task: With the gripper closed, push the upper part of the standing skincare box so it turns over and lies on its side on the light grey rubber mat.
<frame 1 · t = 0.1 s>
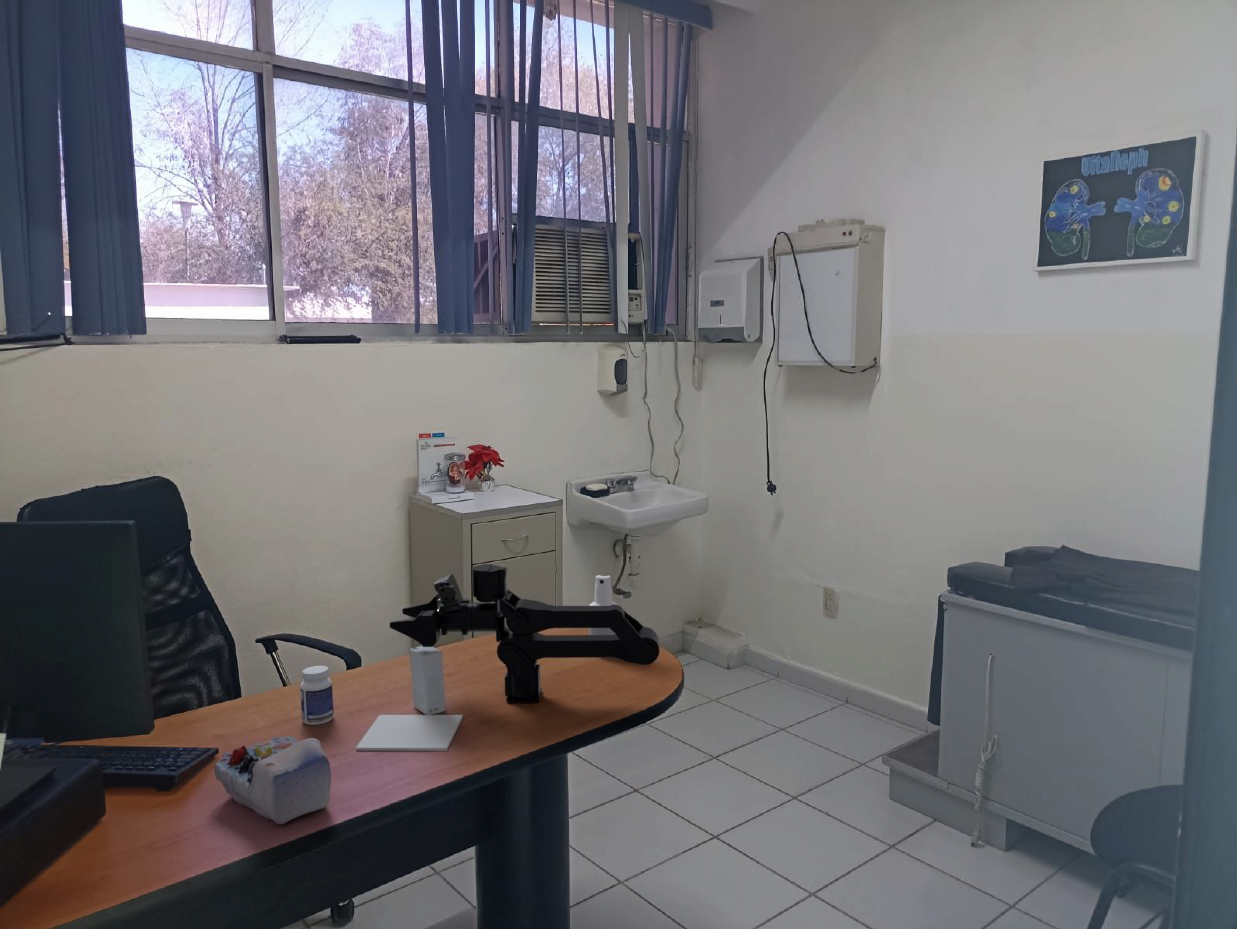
hand: (396, 617, 174), 17 cm above the table, fingers open, 9 cm apart
spray bottle: (603, 652, 202), on the table
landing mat: (411, 733, 159), on the table
skincare box: (428, 710, 170), on the table
cell model: (279, 801, 136), on the table
pill bottle: (318, 720, 165), on the table
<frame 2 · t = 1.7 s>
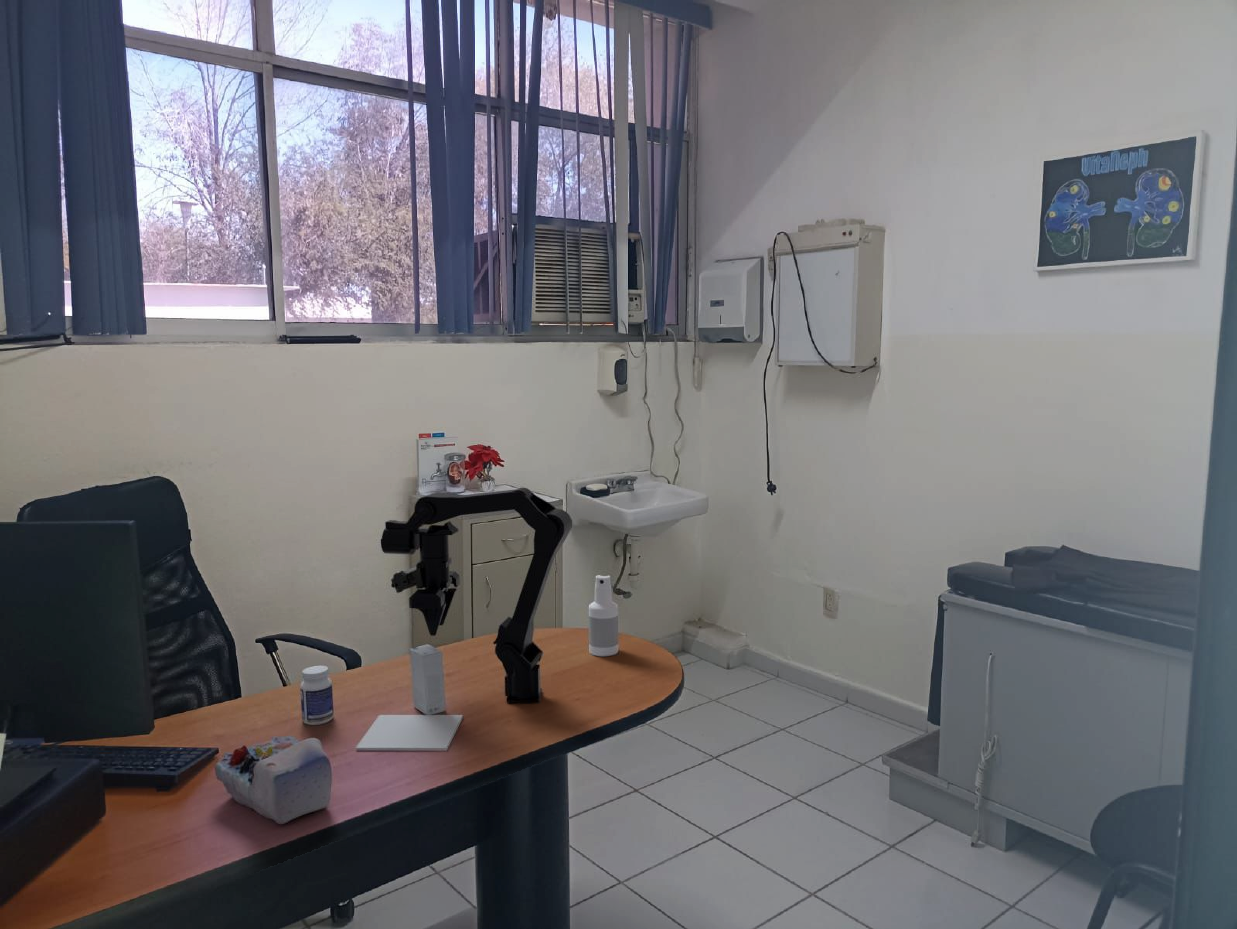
hand: (436, 630, 177), 13 cm above the table, fingers open, 6 cm apart
nothing on the table moved.
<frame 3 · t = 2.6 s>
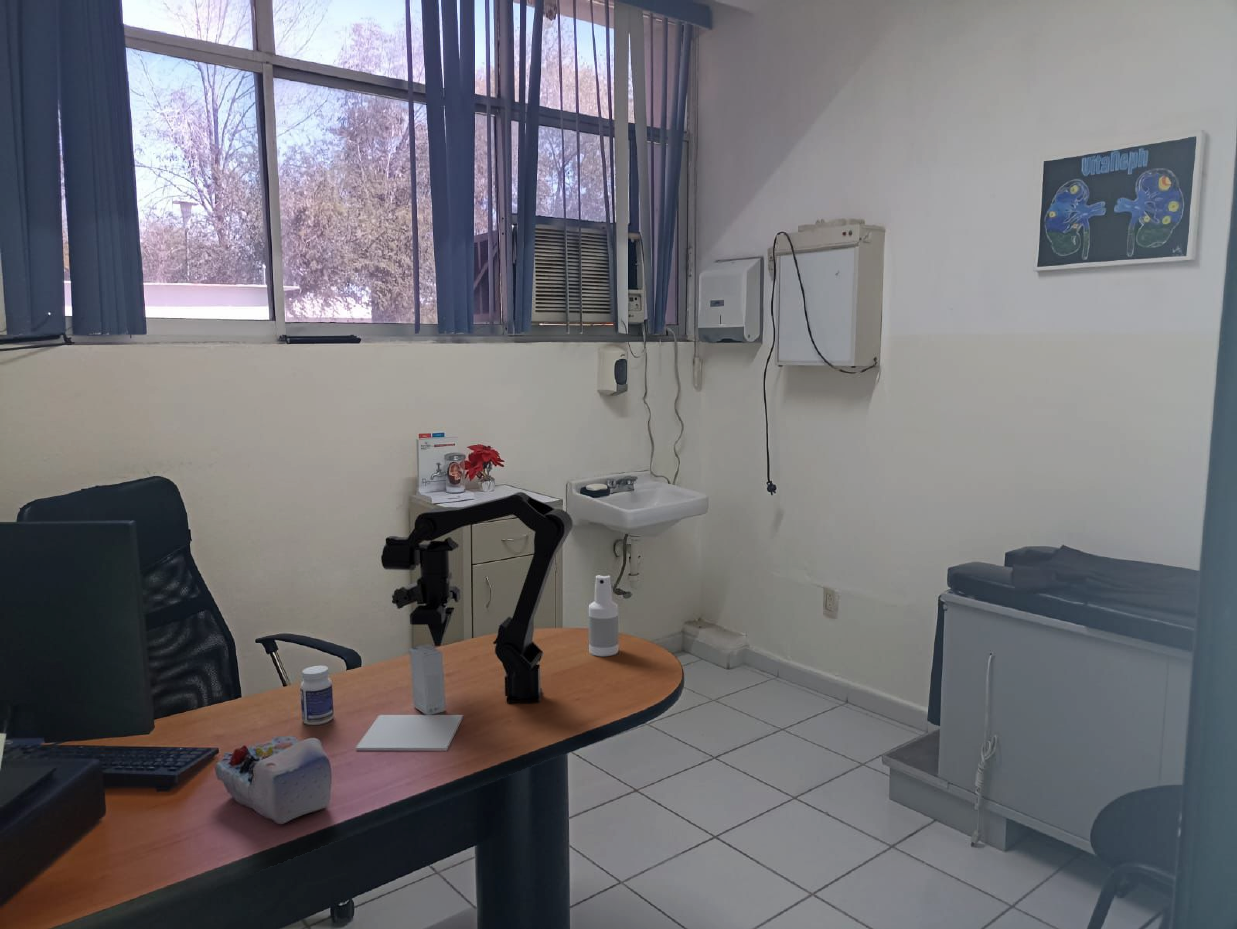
hand: (437, 645, 178), 10 cm above the table, fingers closed
nothing on the table moved.
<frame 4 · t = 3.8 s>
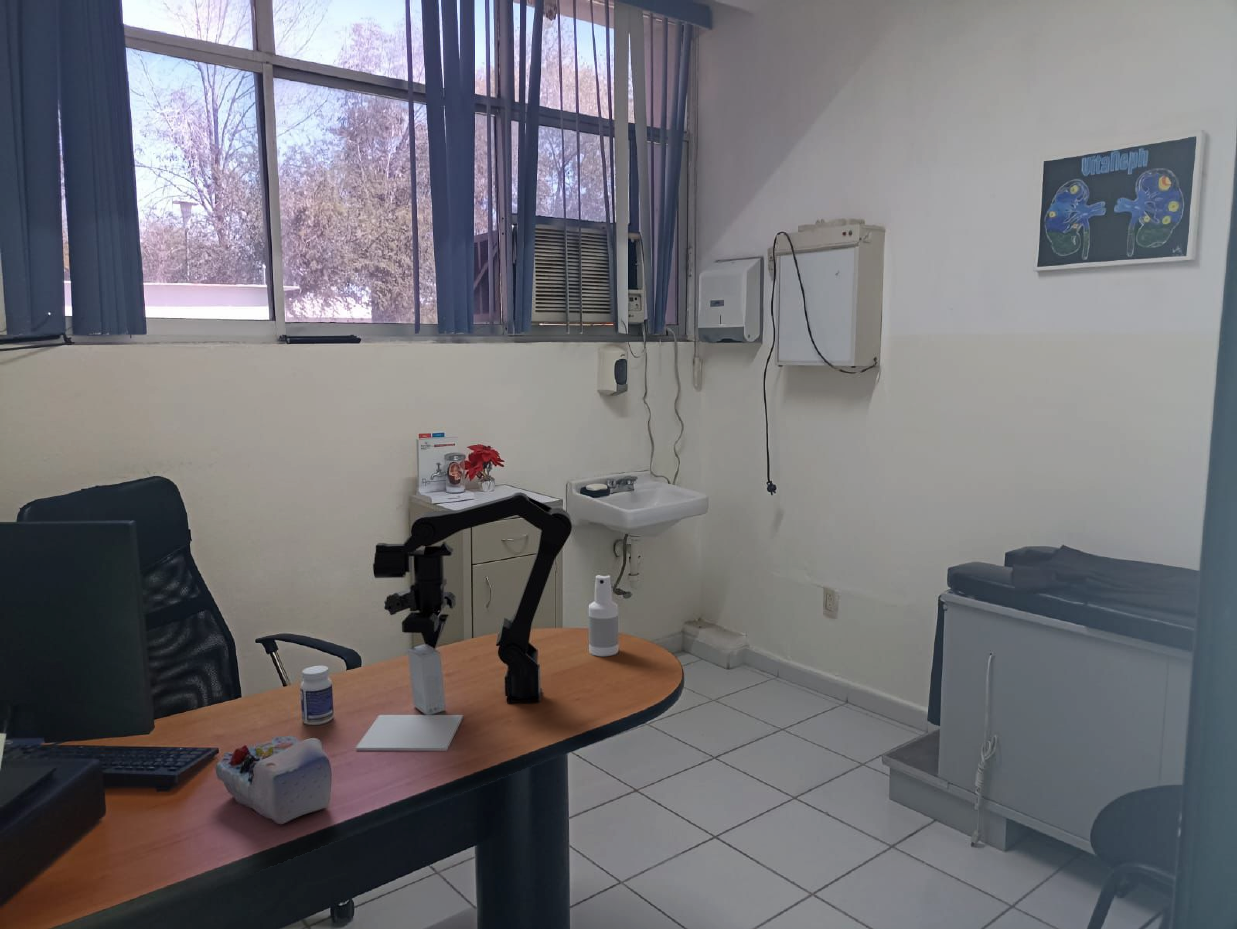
hand: (431, 653, 173), 10 cm above the table, fingers closed
skincare box: (428, 709, 170), on the table, touching gripper
everything else where it was.
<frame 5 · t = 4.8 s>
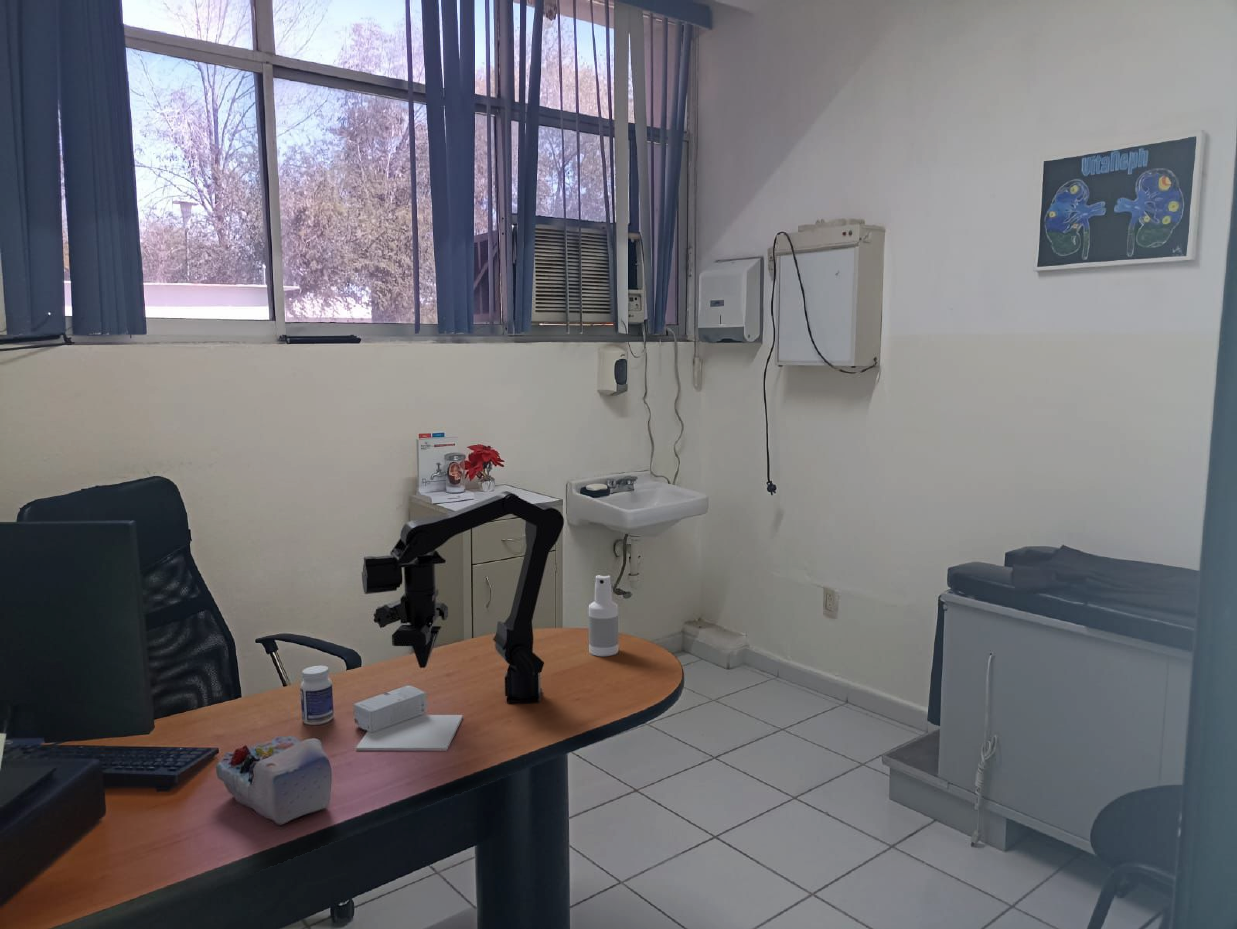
hand: (423, 667, 166), 10 cm above the table, fingers closed
skincare box: (418, 699, 169), point 3 cm above the table, touching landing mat
everything else where it was.
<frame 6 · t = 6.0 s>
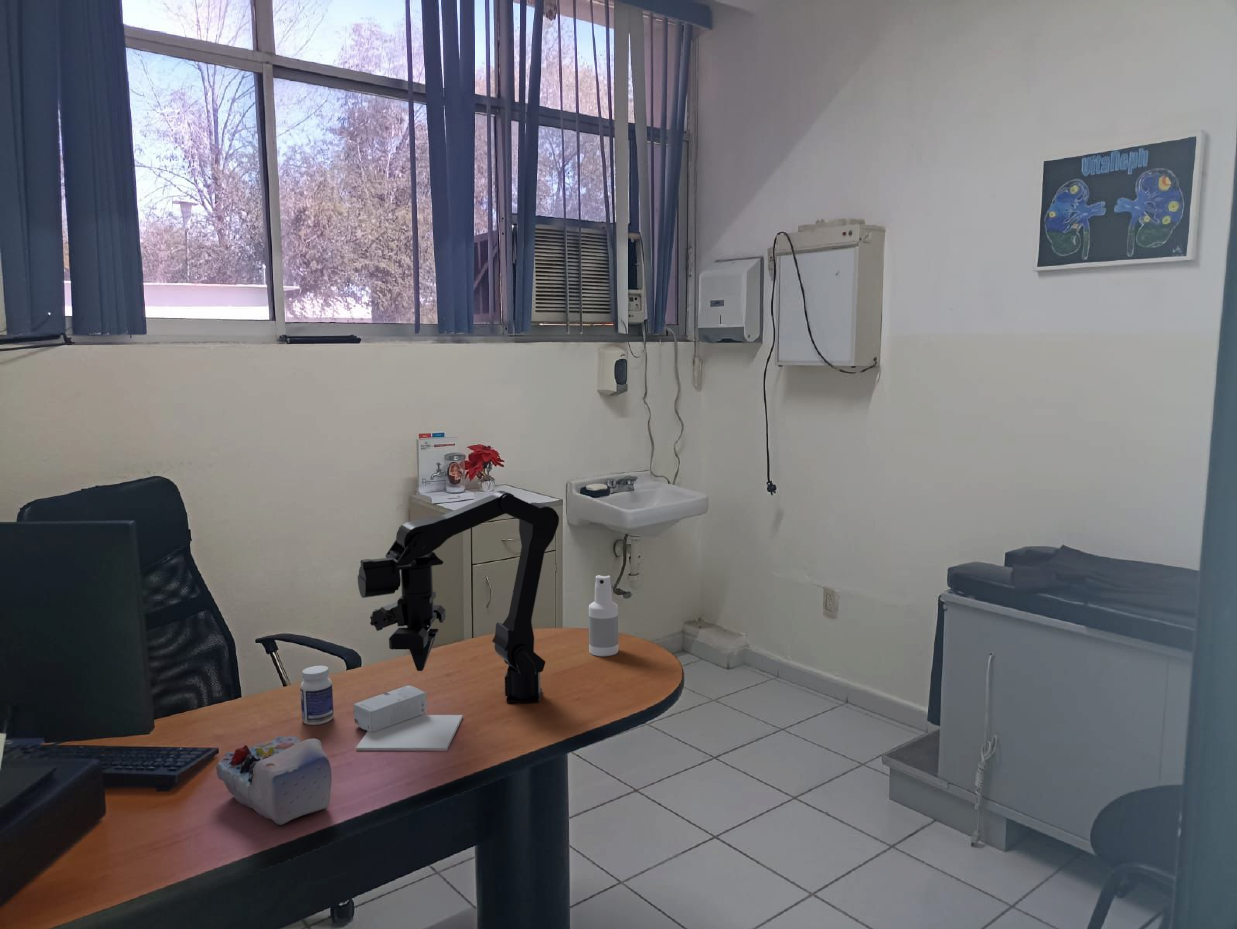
hand: (420, 670, 164), 10 cm above the table, fingers closed
nothing on the table moved.
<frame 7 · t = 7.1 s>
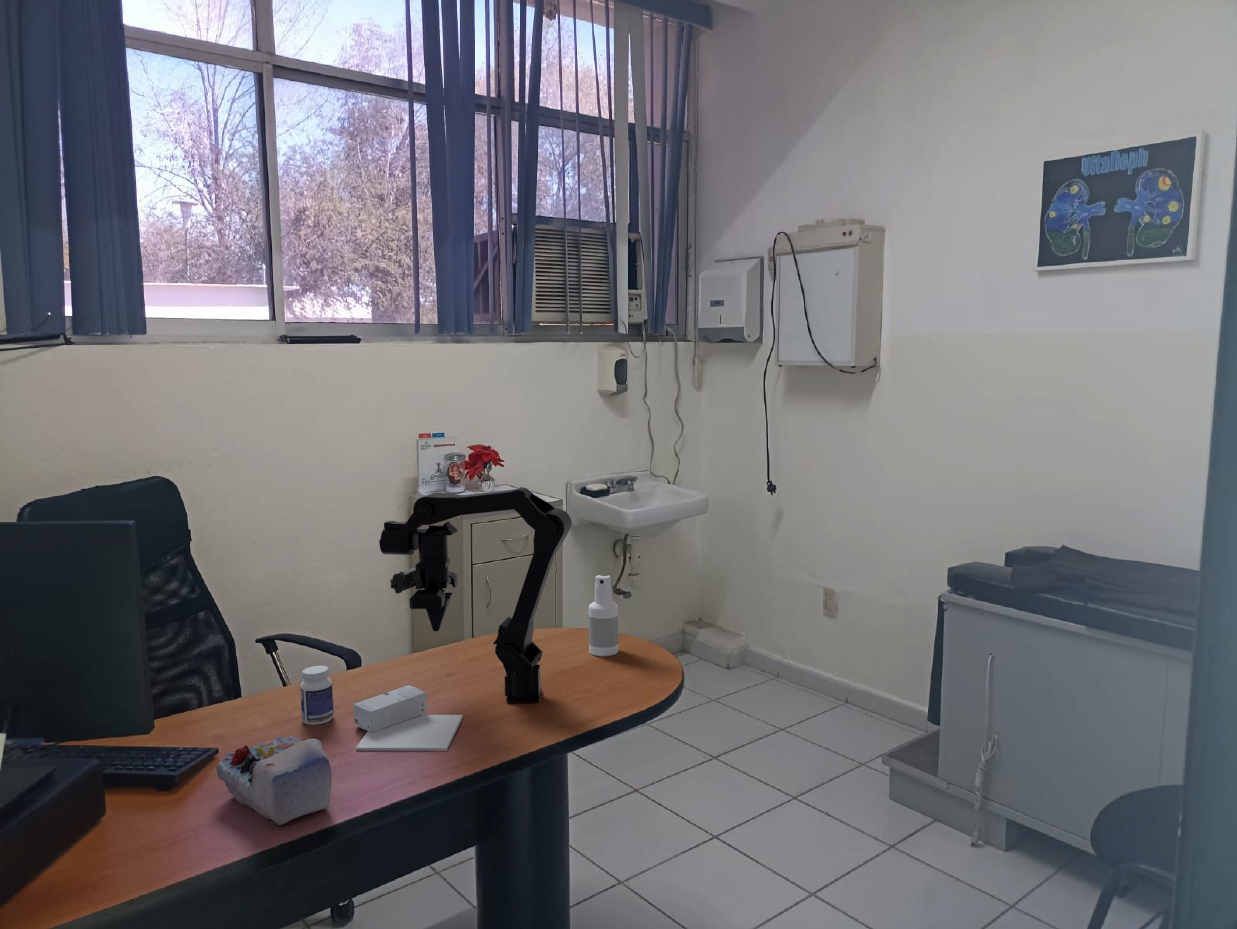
hand: (436, 630, 177), 13 cm above the table, fingers closed
nothing on the table moved.
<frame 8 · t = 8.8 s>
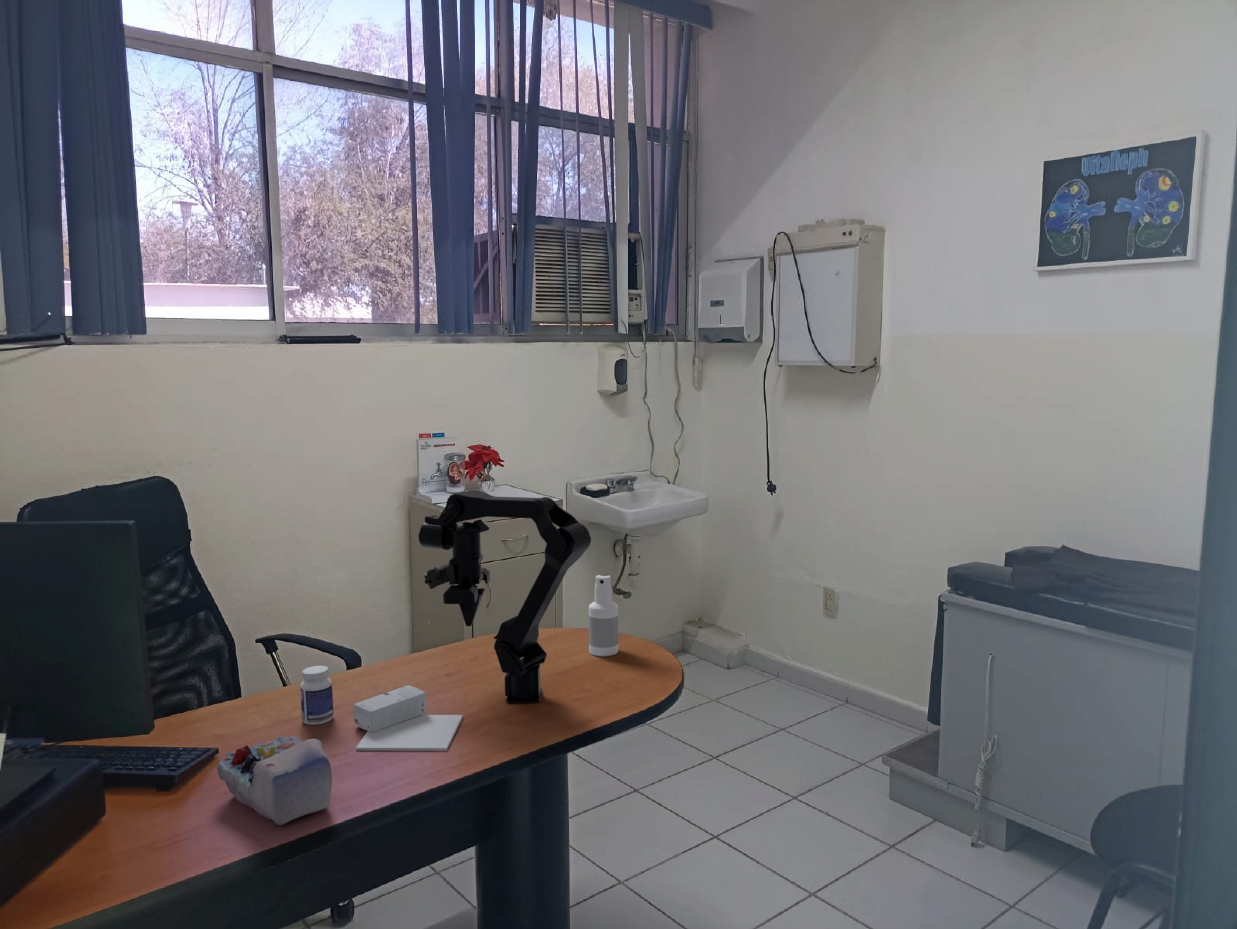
hand: (468, 625, 180), 13 cm above the table, fingers closed
nothing on the table moved.
at the end: skincare box tilted 89°; skincare box inside the target area (3.8 cm from its centre), point 2.5 cm above the table; skincare box touching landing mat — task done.
